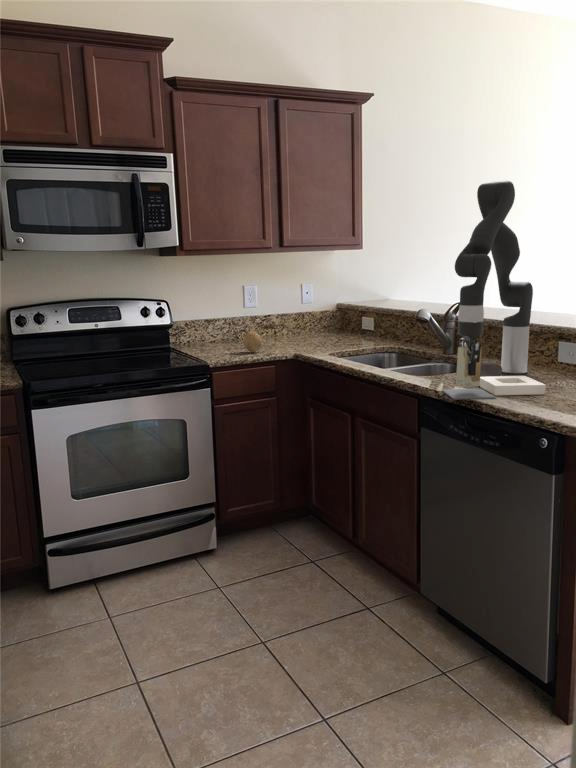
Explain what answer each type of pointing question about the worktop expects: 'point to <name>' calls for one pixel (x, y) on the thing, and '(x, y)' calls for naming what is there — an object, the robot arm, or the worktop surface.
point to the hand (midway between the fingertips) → (468, 373)
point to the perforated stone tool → (490, 369)
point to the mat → (468, 394)
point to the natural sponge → (252, 341)
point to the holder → (511, 385)
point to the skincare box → (466, 370)
